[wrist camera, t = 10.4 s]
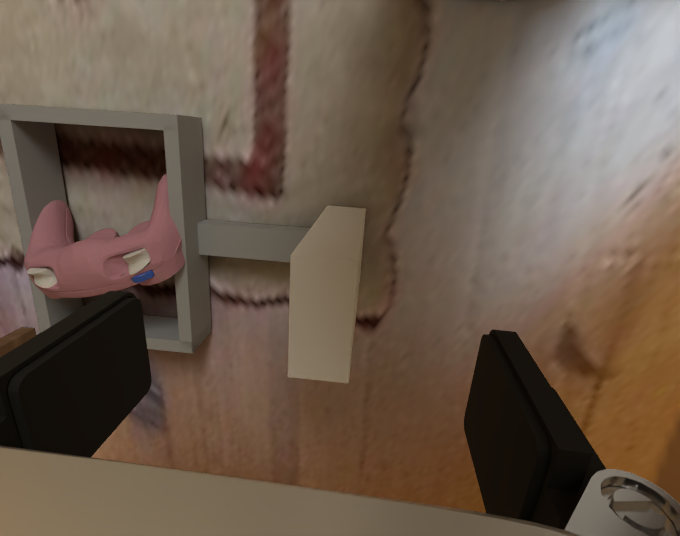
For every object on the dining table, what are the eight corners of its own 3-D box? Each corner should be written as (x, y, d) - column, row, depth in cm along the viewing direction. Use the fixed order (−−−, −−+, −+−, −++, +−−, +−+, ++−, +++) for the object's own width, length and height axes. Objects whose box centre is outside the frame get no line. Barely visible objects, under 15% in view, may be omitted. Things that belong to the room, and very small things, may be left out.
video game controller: (88, 244, 28) (34, 321, 23) (42, 192, 25) (-32, 268, 20) (215, 221, 27) (186, 298, 22) (182, 163, 24) (140, 236, 19)
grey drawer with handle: (372, 129, 22) (370, 120, 12) (354, 345, 27) (340, 475, 17) (39, 107, 24) (-223, 82, 13) (74, 317, 28) (-101, 421, 18)
